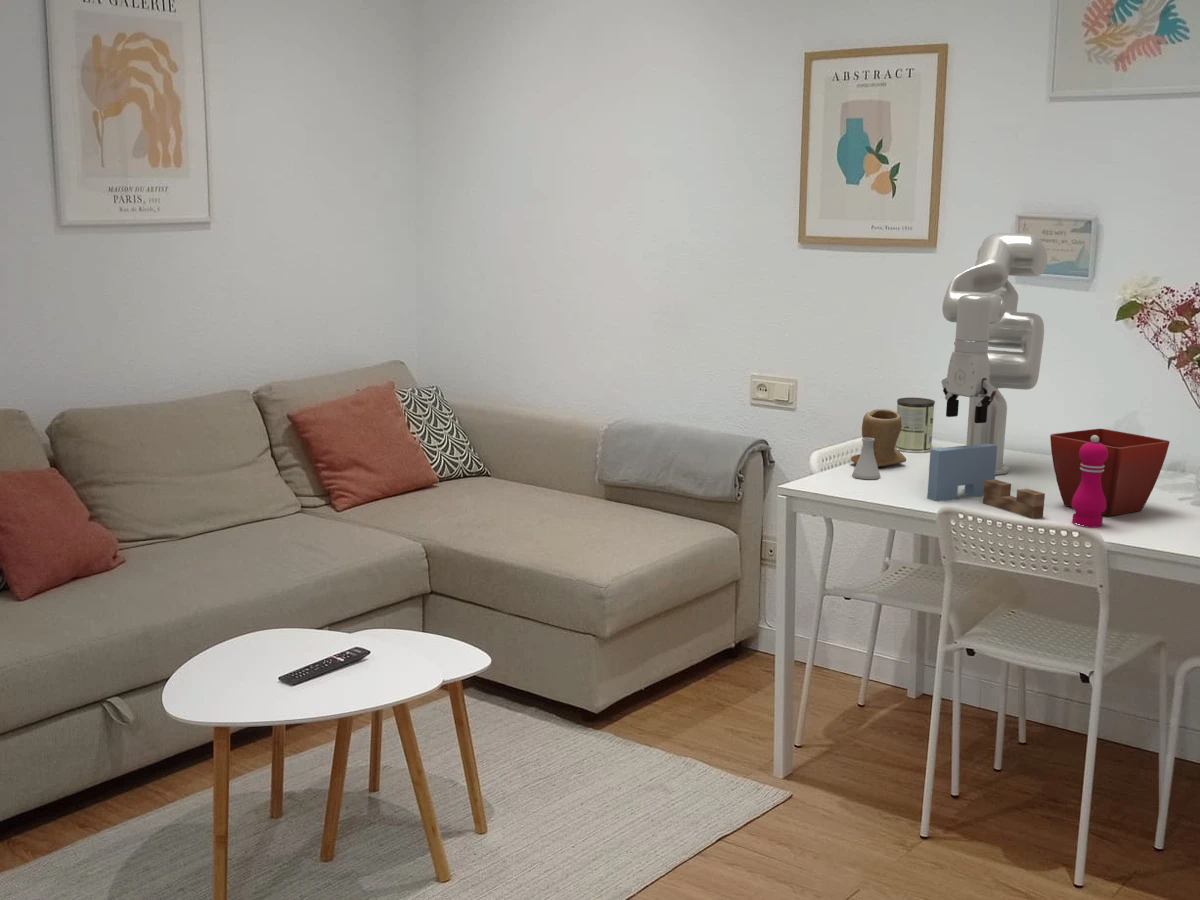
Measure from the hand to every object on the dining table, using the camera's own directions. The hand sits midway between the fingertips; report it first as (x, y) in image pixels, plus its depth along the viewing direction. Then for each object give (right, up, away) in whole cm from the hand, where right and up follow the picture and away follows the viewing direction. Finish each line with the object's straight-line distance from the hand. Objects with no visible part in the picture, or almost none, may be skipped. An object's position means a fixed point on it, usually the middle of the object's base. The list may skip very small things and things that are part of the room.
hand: (965, 419), depth 311 cm
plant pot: (+30, -21, -6) cm, 37 cm away
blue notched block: (0, -18, +4) cm, 19 cm away
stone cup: (-12, -12, +38) cm, 41 cm away
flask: (-19, -14, +23) cm, 33 cm away
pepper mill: (+21, -24, -20) cm, 38 cm away
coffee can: (+2, -7, +60) cm, 61 cm away
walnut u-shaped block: (+8, -21, -9) cm, 24 cm away
